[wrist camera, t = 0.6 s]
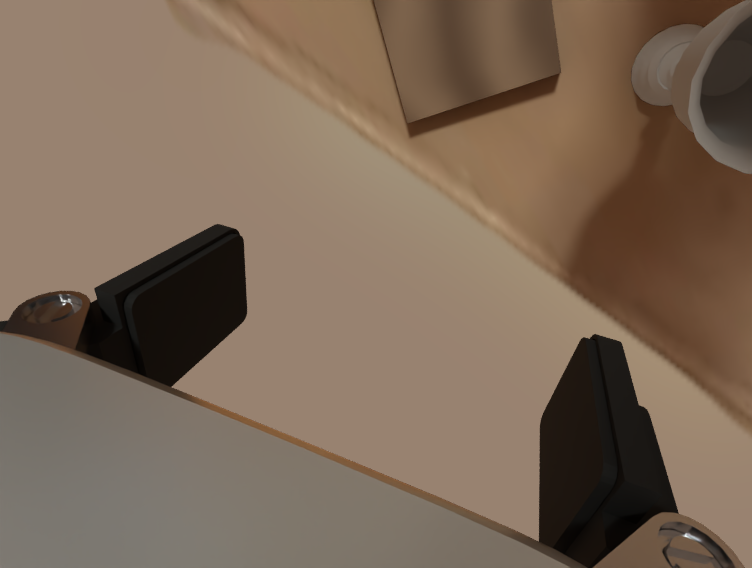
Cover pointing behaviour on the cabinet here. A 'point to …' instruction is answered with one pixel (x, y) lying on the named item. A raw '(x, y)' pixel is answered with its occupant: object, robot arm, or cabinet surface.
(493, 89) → the walnut board
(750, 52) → the chalice
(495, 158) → the cabinet surface
